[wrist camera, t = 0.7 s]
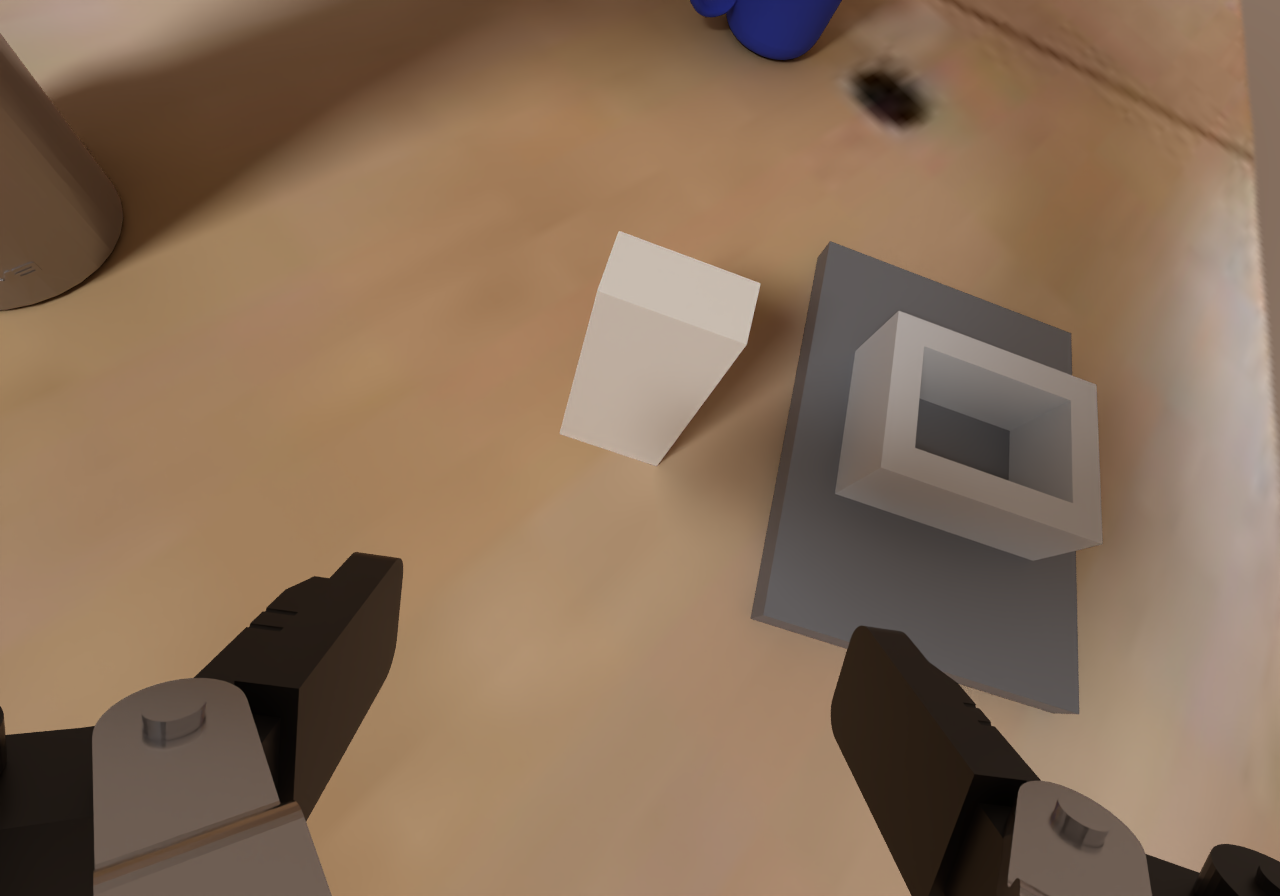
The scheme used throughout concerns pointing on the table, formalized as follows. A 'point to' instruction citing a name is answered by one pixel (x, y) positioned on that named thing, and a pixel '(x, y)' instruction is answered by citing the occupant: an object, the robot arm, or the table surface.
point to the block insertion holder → (935, 481)
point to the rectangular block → (655, 348)
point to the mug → (773, 23)
